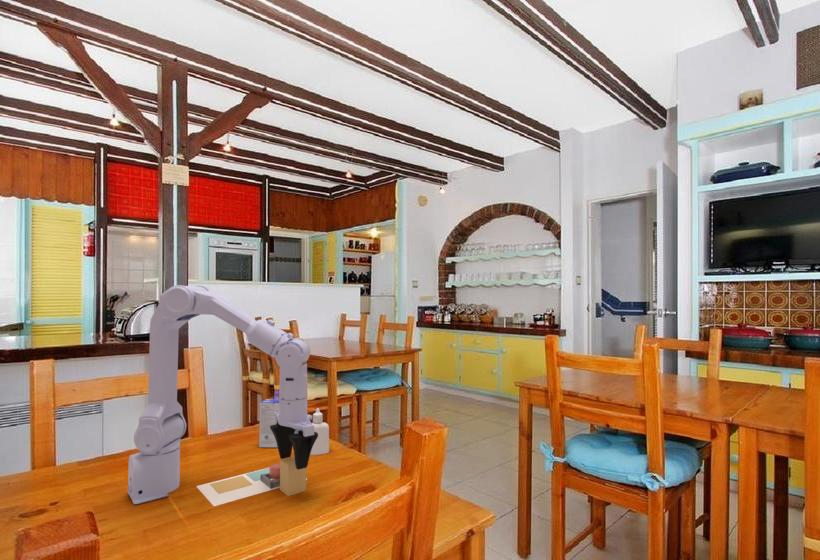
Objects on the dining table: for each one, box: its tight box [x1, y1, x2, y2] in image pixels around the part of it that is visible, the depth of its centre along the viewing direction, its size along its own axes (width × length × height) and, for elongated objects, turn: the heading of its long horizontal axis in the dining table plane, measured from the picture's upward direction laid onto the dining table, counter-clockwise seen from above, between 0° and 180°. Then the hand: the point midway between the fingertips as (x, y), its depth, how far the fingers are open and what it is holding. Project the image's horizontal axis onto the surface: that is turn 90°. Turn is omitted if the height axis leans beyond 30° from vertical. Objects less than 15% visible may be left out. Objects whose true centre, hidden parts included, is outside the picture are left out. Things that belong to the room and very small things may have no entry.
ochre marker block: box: [279, 456, 307, 497], centre depth 97 cm, size 4×4×7 cm
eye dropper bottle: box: [310, 407, 330, 456], centre depth 120 cm, size 4×6×12 cm
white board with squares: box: [196, 467, 308, 507], centre depth 101 cm, size 20×12×2 cm, turn 130°
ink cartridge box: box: [258, 390, 298, 448], centre depth 128 cm, size 10×6×14 cm, turn 89°
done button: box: [269, 462, 280, 479], centre depth 102 cm, size 4×4×2 cm
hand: (293, 462), depth 97 cm, fingers open, 7 cm apart
